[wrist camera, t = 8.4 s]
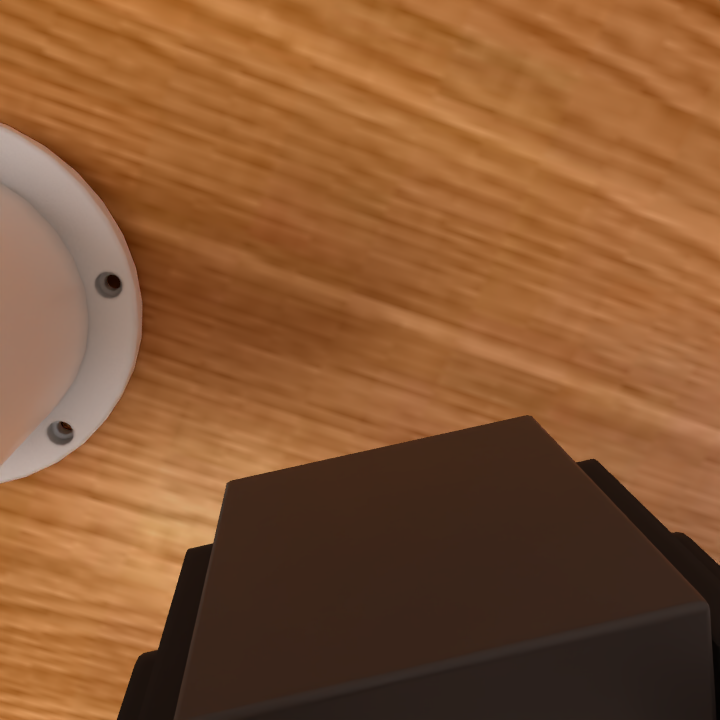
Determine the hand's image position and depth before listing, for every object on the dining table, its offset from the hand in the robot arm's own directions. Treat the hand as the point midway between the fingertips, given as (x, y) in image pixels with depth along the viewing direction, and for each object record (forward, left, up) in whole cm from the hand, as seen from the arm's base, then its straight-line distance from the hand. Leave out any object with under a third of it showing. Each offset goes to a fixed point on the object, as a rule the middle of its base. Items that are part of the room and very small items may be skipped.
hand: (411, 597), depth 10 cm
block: (0, 0, 0) cm, 0 cm away
